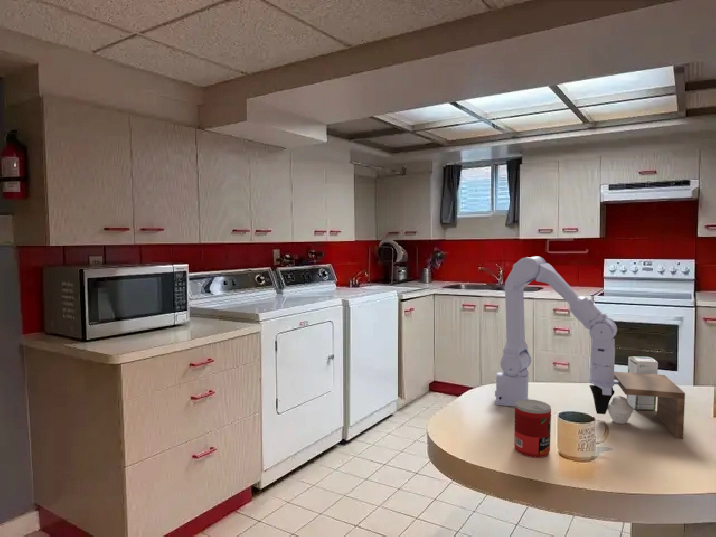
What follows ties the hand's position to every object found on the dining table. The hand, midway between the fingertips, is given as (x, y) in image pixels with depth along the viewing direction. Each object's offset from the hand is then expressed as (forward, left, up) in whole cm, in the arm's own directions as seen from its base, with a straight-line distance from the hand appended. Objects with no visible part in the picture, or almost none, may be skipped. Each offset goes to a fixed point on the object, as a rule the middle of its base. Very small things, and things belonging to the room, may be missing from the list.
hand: (600, 413), depth 133 cm
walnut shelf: (+11, 0, -2) cm, 11 cm away
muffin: (+5, 0, -2) cm, 5 cm away
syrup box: (+13, +14, -2) cm, 19 cm away
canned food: (-19, -25, -2) cm, 31 cm away
